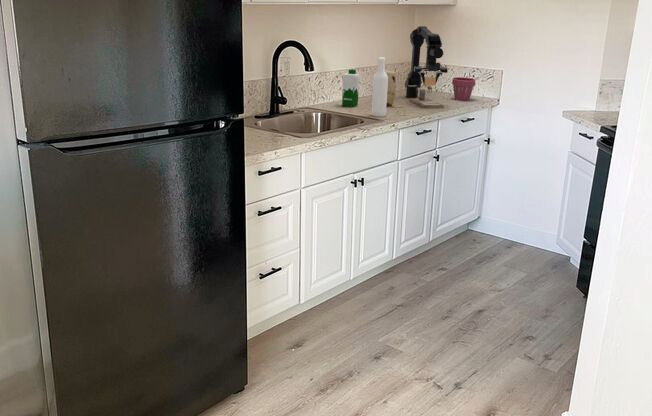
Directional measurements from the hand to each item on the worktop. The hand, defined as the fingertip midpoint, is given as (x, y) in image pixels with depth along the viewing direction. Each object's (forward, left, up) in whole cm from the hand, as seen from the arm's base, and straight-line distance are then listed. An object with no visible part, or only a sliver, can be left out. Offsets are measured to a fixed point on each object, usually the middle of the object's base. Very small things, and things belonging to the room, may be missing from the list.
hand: (429, 84), depth 362 cm
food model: (-19, -16, -12) cm, 28 cm away
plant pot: (+8, +35, -12) cm, 38 cm away
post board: (-3, +3, -12) cm, 13 cm away
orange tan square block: (0, 0, 0) cm, 0 cm away
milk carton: (-35, -31, -12) cm, 48 cm away
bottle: (-9, -46, -12) cm, 49 cm away
